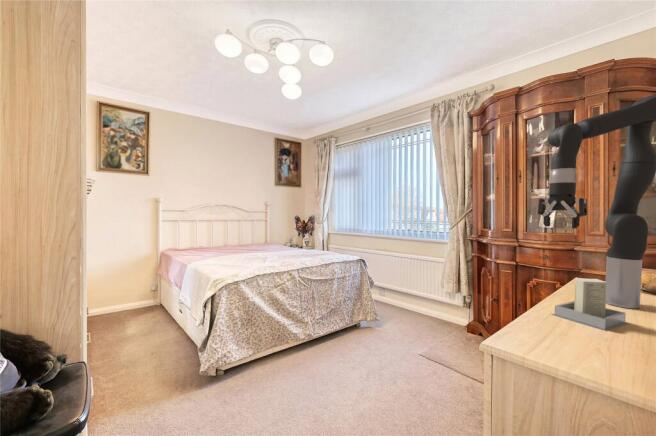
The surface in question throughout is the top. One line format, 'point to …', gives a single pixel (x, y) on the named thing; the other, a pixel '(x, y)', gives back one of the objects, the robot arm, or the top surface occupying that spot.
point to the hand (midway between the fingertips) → (560, 227)
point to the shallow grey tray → (590, 316)
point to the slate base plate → (596, 327)
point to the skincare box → (590, 296)
